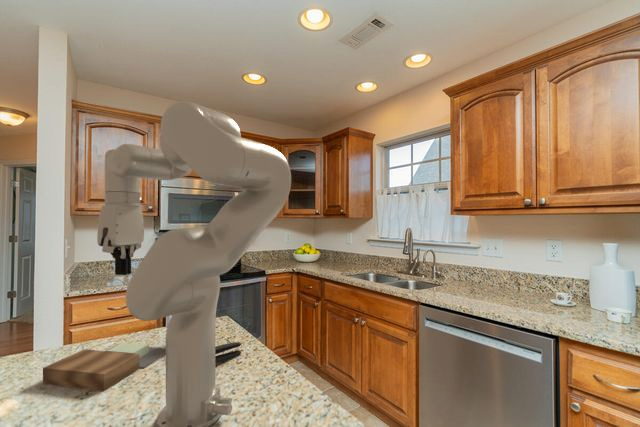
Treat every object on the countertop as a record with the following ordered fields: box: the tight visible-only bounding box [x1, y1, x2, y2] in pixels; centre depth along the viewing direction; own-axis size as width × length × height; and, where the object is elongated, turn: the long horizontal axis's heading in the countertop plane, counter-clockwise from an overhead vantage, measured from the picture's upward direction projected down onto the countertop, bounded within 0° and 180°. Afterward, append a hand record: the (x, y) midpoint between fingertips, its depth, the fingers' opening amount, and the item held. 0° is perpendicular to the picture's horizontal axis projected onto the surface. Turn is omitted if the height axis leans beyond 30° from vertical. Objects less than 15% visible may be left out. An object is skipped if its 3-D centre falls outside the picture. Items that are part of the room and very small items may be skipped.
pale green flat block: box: [106, 342, 150, 358], centre depth 93 cm, size 9×6×2 cm, turn 79°
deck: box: [42, 349, 140, 392], centre depth 81 cm, size 18×11×4 cm, turn 79°
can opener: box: [215, 341, 242, 364], centre depth 88 cm, size 18×7×6 cm, turn 142°
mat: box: [105, 344, 166, 369], centre depth 93 cm, size 20×12×1 cm, turn 79°
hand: (123, 274), depth 78 cm, fingers closed
